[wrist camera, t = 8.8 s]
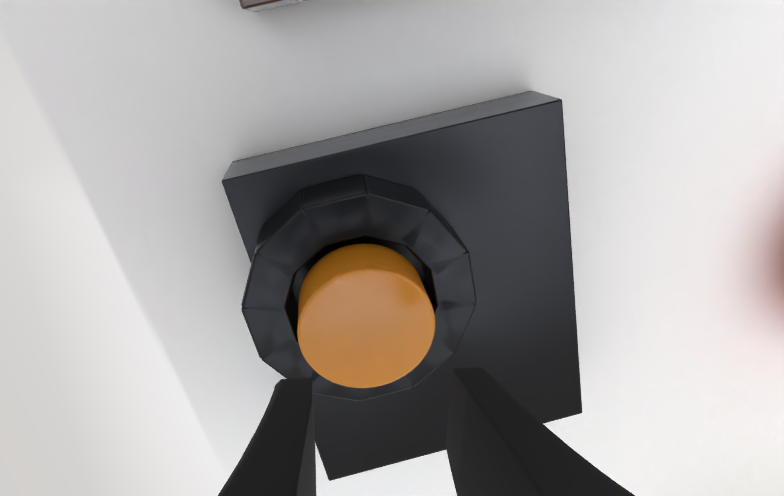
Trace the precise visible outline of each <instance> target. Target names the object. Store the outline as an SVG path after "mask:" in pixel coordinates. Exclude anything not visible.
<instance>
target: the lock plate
mask: <svg viewBox="0 0 784 496" xmlns="http://www.w3.org/2000/svg"><path fill="white" fill-rule="evenodd" d="M239 1H240V5H241V7H242V9H246V10H251V11H255V12H258V11H263V10H267V9H272V8H276V7H281V6H285V5H289V4H294V3H298V2H303V1H307V0H239Z"/></svg>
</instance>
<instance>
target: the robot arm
mask: <svg viewBox="0 0 784 496" xmlns="http://www.w3.org/2000/svg"><path fill="white" fill-rule="evenodd" d="M446 449H447V454H448V458H449V463H450V467H451V472H452V476H453V480H454V484H455V488H456V493H457V496H635V495H633V494H632V493H630V492H629V491H628V490H626V489H625V488H623V487H622V486H620V485H619V484H617V483H616V482H615V481H613V480H612V479H610V478H609V477H608V476H606V475H605V474H604V473H602V472H601V471H600V470H598V469H597V468H596V467H594V466H593V465H592V464H591V463H589V462H588V461H587V460H586V459H584V458H583V457H582V456H581V455H579V454H578V453H577V452H575V451H574V450H573V449H572V448H570V447H569V446H568V445H567V444H566V443H564V442H563V441H562V440H561V439H560V438H558V437H557V436H556V435H555V434H554V433H553V432H551V431H550V430H549V429H548V428H547V427H546V426H545V425H543V424H542V423H541V422H540V421H539V420H538V419H537V418H535V417H534V416H533V415H532V414H531V413H530V412H529V411H528V410H527V409H526V408H524V407H523V406H522V405H521V404H520V403H519V402H518V401H517V400H516V399H515V398H514V397H513V396H512V395H511V394H510V393H508V392H507V391H506V390H505V389H504V388H503V387H502V386H501V385H500V384H499V383H498V382H497V381H496V380H495V379H494V378H493V377H492V376H491V375H490V374H488V373H487V372H486V371H485V370H484V369H483V368H482V367H471V368H455V369H453V371H452V382H451V393H450V404H449V414H448V425H447V436H446ZM218 496H316V464H315V433H314V406H313V380H312V378H296V379H281V380H280V381H279V382H278V383H277V384H276V386H275V389H274V392H273V395H272V397H271V400H270V402H269V405H268V407H267V409H266V411H265V414H264V416H263V418H262V420H261V422H260V424H259V426H258V428H257V430H256V432H255V434H254V435H253V437H252V439H251V441H250V443H249V445H248V447H247V448H246V450H245V452H244V454H243V456H242V458H241V459H240V461H239V463H238V464H237V466H236V468H235V469H234V471H233V472H232V474H231V476H230V477H229V479H228V480H227V482H226V484H225V485H224V487H223V488H222V490H221V492H220V493H219V495H218Z"/></svg>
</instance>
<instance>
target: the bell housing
mask: <svg viewBox="0 0 784 496" xmlns="http://www.w3.org/2000/svg"><path fill="white" fill-rule="evenodd" d="M222 184H223V187H224V189H225V192H226V195H227V198H228V200H229V203H230V206H231V209H232V212H233V214H234V217H235V220H236V223H237V226H238V228H239V231H240V234H241V237H242V239H243V242H244V245H245V248H246V251H247V253H248V256H249V259H250V262H251V268H250V272H249V276H248V280H247V284H246V288H245V292H244V296H243V300H242V304H241V305H242V313H243V315H244V318H245V320H246V323H247V326H248V328H249V331H250V333H251V336H252V339H253V341H254V344H255V346H256V349H257V352H258V354H259V357H260V358H262V360H263V361H264V362H265V363H267V364H268V365H269V366H271V367H272V368H273V369H275V370H276V371H277V372H279V373H280V374H281V375H283V376H284V377H285V378H287V379H296V378H312V380H313V406H314V433H315V443H316V446H317V448H318V451H319V454H320V457H321V460H322V462H323V465H324V468H325V471H326V473H327V476H328V479H329V481H331V480H334V479H338V478H342V477H345V476H349V475H353V474H357V473H360V472H364V471H368V470H371V469H375V468H379V467H383V466H386V465H390V464H394V463H398V462H401V461H405V460H409V459H412V458H416V457H420V456H424V455H427V454H431V453H435V452H439V451H442V450H446V436H447V425H448V414H449V404H450V393H451V382H452V371H453V369H455V368H471V367H482V368H483V369H484V370H485V371H486V372H487V373H488V374H490V375H491V376H492V377H493V378H494V379H495V380H496V381H497V382H498V383H499V384H500V385H501V386H502V387H503V388H504V389H505V390H506V391H507V392H508V393H510V394H511V395H512V396H513V397H514V398H515V399H516V400H517V401H518V402H519V403H520V404H521V405H522V406H523V407H524V408H526V409H527V410H528V411H529V412H530V413H531V414H532V415H533V416H534V417H535V418H537V419H538V420H539V421H540V422H541V423H542V424H543V423H547V422H550V421H554V420H558V419H561V418H565V417H569V416H573V415H576V414H580V413H582V403H581V387H580V372H579V356H578V341H577V325H576V310H575V295H574V279H573V264H572V248H571V233H570V217H569V202H568V186H567V171H566V155H565V140H564V124H563V109H562V100H561V99H558V98H555V97H551V96H548V95H545V94H542V93H538V92H535V91H529V92H525V93H520V94H516V95H512V96H508V97H504V98H499V99H495V100H491V101H487V102H483V103H478V104H474V105H470V106H466V107H462V108H457V109H453V110H449V111H445V112H441V113H436V114H432V115H428V116H424V117H419V118H415V119H411V120H407V121H403V122H398V123H394V124H390V125H386V126H382V127H377V128H373V129H369V130H365V131H361V132H356V133H352V134H348V135H344V136H339V137H335V138H331V139H327V140H323V141H318V142H314V143H310V144H306V145H302V146H297V147H293V148H289V149H285V150H281V151H276V152H272V153H268V154H264V155H259V156H255V157H251V158H247V159H243V160H238V161H234V162H232V164H231V166H230V167H229V169H228V171H227V173H226V174H225V176H224V178H223V180H222ZM364 243H365V244H376V245H381V246H384V247H388V248H390V249H392V250H394V251H397V252H398V253H400V254H401V255H403V256H404V257H405V258H406V259H407V260H409V261H410V263H411V264H412V265H413V266H414V267H415V269H416V271H417V272H418V274H419V276H420V278H421V281H422V283H423V285H424V288H425V290H426V292H427V295H428V297H429V300H430V302H431V304H432V307H433V310H434V314H435V333H434V338H433V341H432V344H431V346H430V348H429V350H428V352H427V354H426V355H425V357H424V358H423V360H422V361H421V362H420V363H419V364H418V365H417V366H416V367H415V368H414V369H413V370H412V371H410V372H409V373H408V374H406V375H405V376H403V377H401V378H400V379H398V380H396V381H393V382H391V383H388V384H385V385H382V386H377V387H370V388H354V387H347V386H343V385H339V384H336V383H334V382H331V381H329V380H327V379H325V378H324V377H323V376H321V375H320V374H318V373H317V372H316V371H315V370H314V369H313V368H312V367H311V366H310V365H309V364H308V362H307V361H306V359H305V358H304V356H303V354H302V352H301V349H300V346H299V342H298V335H297V329H298V308H299V294H300V289H301V286H302V283H303V280H304V279H305V277H306V275H307V273H308V272H309V270H310V269H311V268H312V267H313V266H314V265H315V263H316V262H317V261H319V260H320V259H321V258H322V257H324V256H325V255H327V254H328V253H330V252H332V251H334V250H336V249H338V248H341V247H344V246H348V245H353V244H364Z"/></svg>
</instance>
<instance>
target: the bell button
mask: <svg viewBox="0 0 784 496" xmlns="http://www.w3.org/2000/svg"><path fill="white" fill-rule="evenodd" d="M434 333H435V314H434V310H433V307H432V304H431V302H430V300H429V297H428V295H427V292H426V290H425V288H424V285H423V283H422V281H421V278H420V276H419V274H418V272H417V271H416V269H415V267H414V266H413V265H412V264H411V263H410V261H409V260H407V259H406V258H405V257H404V256H403V255H401V254H400V253H398V252H397V251H394V250H392V249H390V248H388V247H384V246H381V245H376V244H365V243H364V244H353V245H348V246H344V247H341V248H338V249H336V250H334V251H332V252H330V253H328V254H327V255H325V256H324V257H322V258H321V259H320V260H319V261H317V262H316V263H315V265H314V266H313V267H312V268H311V269H310V270H309V272H308V273H307V275H306V277H305V279H304V280H303V283H302V286H301V289H300V294H299V308H298V329H297V335H298V342H299V346H300V349H301V352H302V354H303V356H304V358H305V359H306V361H307V362H308V364H309V365H310V366H311V367H312V368H313V369H314V370H315V371H316V372H317V373H318V374H320V375H321V376H323V377H324V378H325V379H327V380H329V381H331V382H334V383H336V384H339V385H343V386H347V387H354V388H370V387H377V386H382V385H385V384H388V383H391V382H393V381H396V380H398V379H400V378H401V377H403V376H405V375H406V374H408V373H409V372H410V371H412V370H413V369H414V368H415V367H416V366H417V365H418V364H419V363H420V362H421V361H422V360H423V358H424V357H425V355H426V354H427V352H428V350H429V348H430V346H431V344H432V341H433V338H434Z"/></svg>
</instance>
